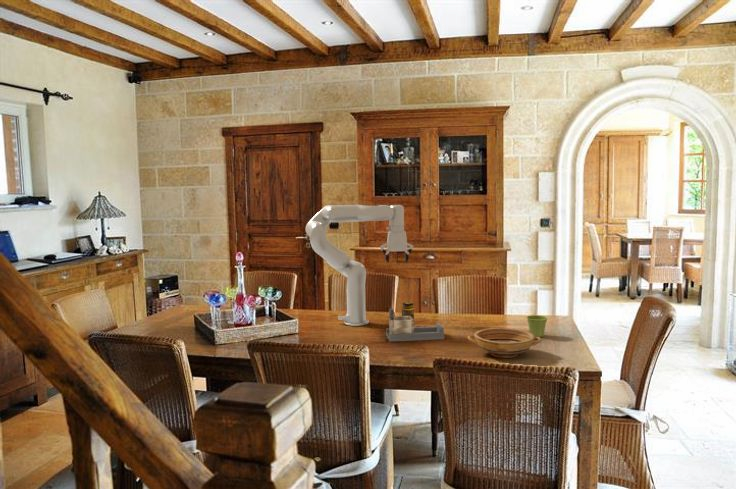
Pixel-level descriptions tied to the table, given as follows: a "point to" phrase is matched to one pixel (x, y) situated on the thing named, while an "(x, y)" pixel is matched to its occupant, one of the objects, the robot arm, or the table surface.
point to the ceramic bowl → (504, 341)
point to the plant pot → (537, 325)
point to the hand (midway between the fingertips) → (397, 262)
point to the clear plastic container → (400, 323)
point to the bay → (419, 334)
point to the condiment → (408, 310)
